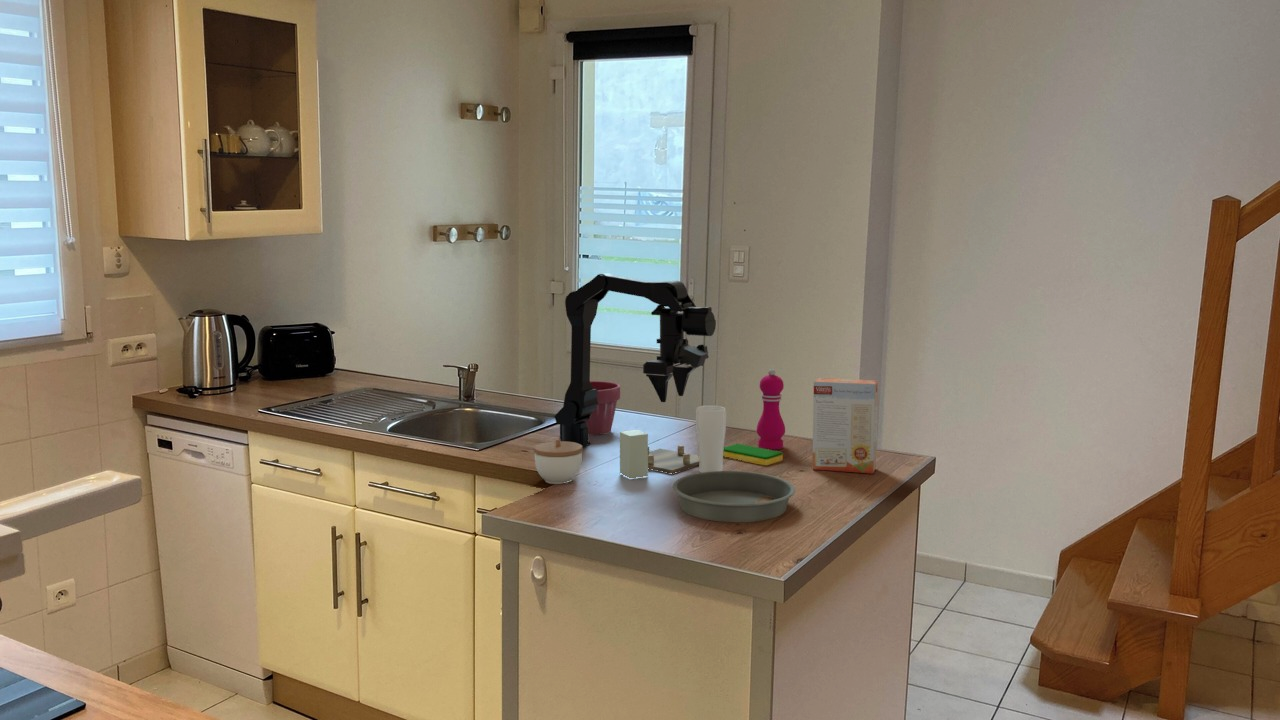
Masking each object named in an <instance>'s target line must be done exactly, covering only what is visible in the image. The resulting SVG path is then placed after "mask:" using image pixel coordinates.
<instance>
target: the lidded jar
mask: <svg viewBox="0 0 1280 720" xmlns="http://www.w3.org/2000/svg"><path fill="white" fill-rule="evenodd" d="M583 448H584V447H582V445H580V444H578V443H574V442H567V441H560V438H556V439H555V441H547V442H542V443H541V442H540V443H538V444H536V445H534V447H533V453H534V463H535V468H536V471H537V473H538V475H539V476H540V477H541V478H542V479H543V480H544V482H545V483H547V484H550V485H562V484H561V483H564V482H567V481H570V480H572V479H574V478H576V477H577V475H578V474H579V472H580V470H581V468H582V463H583ZM572 481H573V480H572Z"/></svg>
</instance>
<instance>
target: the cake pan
mask: <svg viewBox="0 0 1280 720" xmlns="http://www.w3.org/2000/svg"><path fill="white" fill-rule="evenodd" d="M672 490H673V491H674V493H675V494H677V495H678V500H679V505H680V509H681V510H682V511H683V512H685V513H686V514H688V515H690V516H693V517H696V518H699V519H703V520H707V521H709V520H710V521H715V522H725V523H750V522H761V521H766V520H770V519H774V518H777V517H779V516H781V515H782V514H784V513H785V512H786V510H787V506H788V503H789V499H790V498H791V497H793V496H794V494H795V492H796V487H795V486H794V485H793V484H792V483H791V482H790V481H788V480H786V479H784V478H780V477H778V476H774V475H770V474H766V473H761V472H753V471H743V470H742V471H741V470H739V471H738V470H722V471H712V472H703V473H701V472H698V473H692V474H689V475H685V476H682V477H680V478H678V479H677V480H676V481H674V483H672ZM765 498H771V500H766V501H760V500H762V499H765ZM756 501H758V502H756Z"/></svg>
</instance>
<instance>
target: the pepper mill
mask: <svg viewBox="0 0 1280 720" xmlns="http://www.w3.org/2000/svg"><path fill="white" fill-rule="evenodd" d="M767 373H768V374H767V375H764V376H763V377H762V378H761V379H760V382H759V389H760V391H761V392H762V393H761V394H760V395H761V401H762V405H763V408H762V411H761V412H762V413H761V415H760V418H759V420H758V422H757V426H756V429H755V430H756V434H757V435H758V437H760V438H758V440H757V441H758V443H757V447H758V448H759V447H760V448H763V449H770V450H774V451H777V450H780V449H783V447H784V440H783V439H782V438H783V436H785V434H786V426H785V422H784V420H783V418H782V415H781V412H780V402H781V400H782V394H781V392H783V390H784V386H785V384H784V381H783V379H782V378H781V377H780V376H779V375H776V370H775V369H774V368H771V369H768V372H767Z"/></svg>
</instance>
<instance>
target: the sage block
mask: <svg viewBox="0 0 1280 720" xmlns="http://www.w3.org/2000/svg"><path fill="white" fill-rule="evenodd" d="M648 447H649V434H648V433H646V432H643V431H642V430H639V429H633V430H632V429H631V430H624V431H619V474H620V473H622V474H623V475H625V476H627V477H629V478H636V477H643V476H648V477H649V470H648Z"/></svg>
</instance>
